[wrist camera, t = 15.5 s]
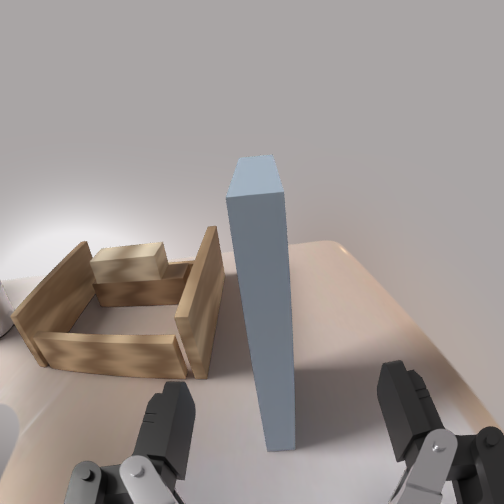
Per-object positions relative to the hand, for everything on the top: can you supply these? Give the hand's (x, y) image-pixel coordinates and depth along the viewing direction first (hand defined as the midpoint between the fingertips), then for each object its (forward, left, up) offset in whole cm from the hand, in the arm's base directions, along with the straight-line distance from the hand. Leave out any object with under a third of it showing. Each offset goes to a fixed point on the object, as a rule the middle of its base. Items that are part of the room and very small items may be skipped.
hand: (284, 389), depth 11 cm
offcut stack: (-19, +27, -13) cm, 35 cm away
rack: (-19, +22, -13) cm, 31 cm away
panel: (0, +8, -13) cm, 15 cm away
